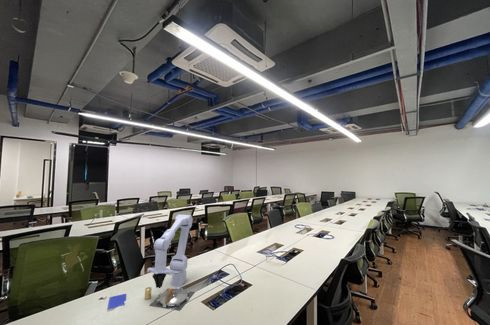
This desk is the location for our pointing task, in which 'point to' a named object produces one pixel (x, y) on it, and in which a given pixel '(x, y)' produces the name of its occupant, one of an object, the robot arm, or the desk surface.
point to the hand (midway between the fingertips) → (159, 287)
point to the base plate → (172, 306)
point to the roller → (148, 293)
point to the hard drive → (116, 302)
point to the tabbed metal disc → (173, 297)
